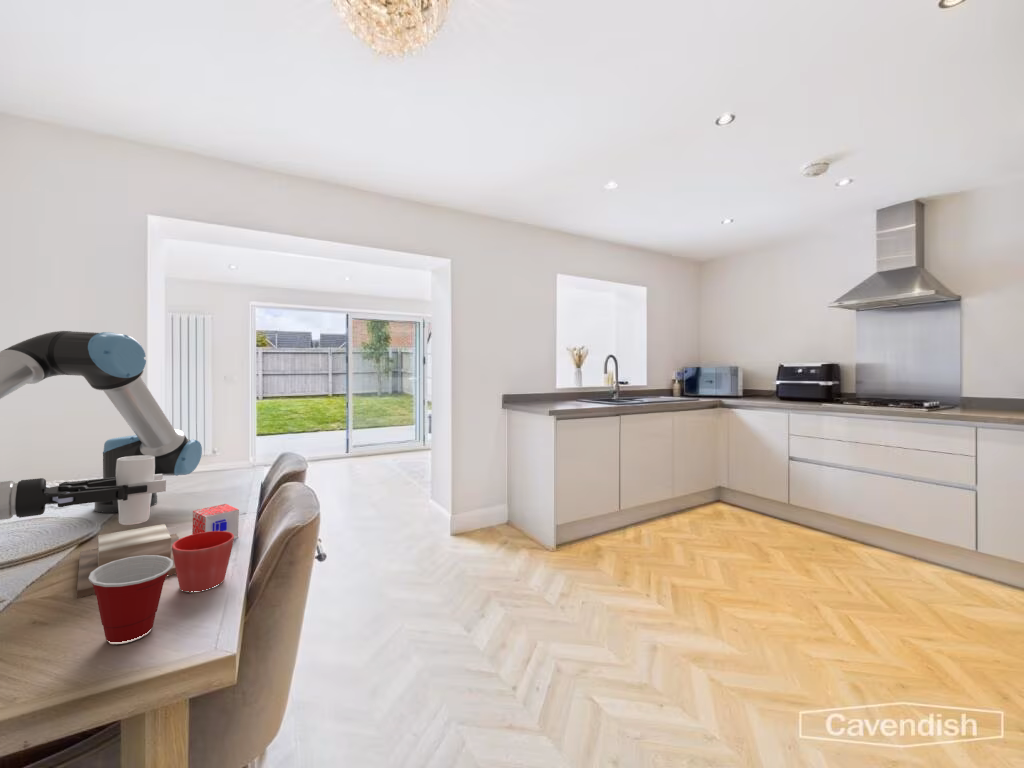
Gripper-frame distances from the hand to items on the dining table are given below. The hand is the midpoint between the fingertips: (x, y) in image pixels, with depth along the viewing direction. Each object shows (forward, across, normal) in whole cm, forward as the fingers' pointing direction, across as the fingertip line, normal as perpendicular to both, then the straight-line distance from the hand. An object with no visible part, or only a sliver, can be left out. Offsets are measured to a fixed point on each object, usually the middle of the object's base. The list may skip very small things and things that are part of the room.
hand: (163, 482), depth 100 cm
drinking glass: (-5, 0, -9) cm, 10 cm away
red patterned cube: (+12, -6, -19) cm, 23 cm away
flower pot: (+5, +21, -19) cm, 29 cm away
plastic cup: (-7, +34, -19) cm, 39 cm away
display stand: (-5, 0, -18) cm, 19 cm away
